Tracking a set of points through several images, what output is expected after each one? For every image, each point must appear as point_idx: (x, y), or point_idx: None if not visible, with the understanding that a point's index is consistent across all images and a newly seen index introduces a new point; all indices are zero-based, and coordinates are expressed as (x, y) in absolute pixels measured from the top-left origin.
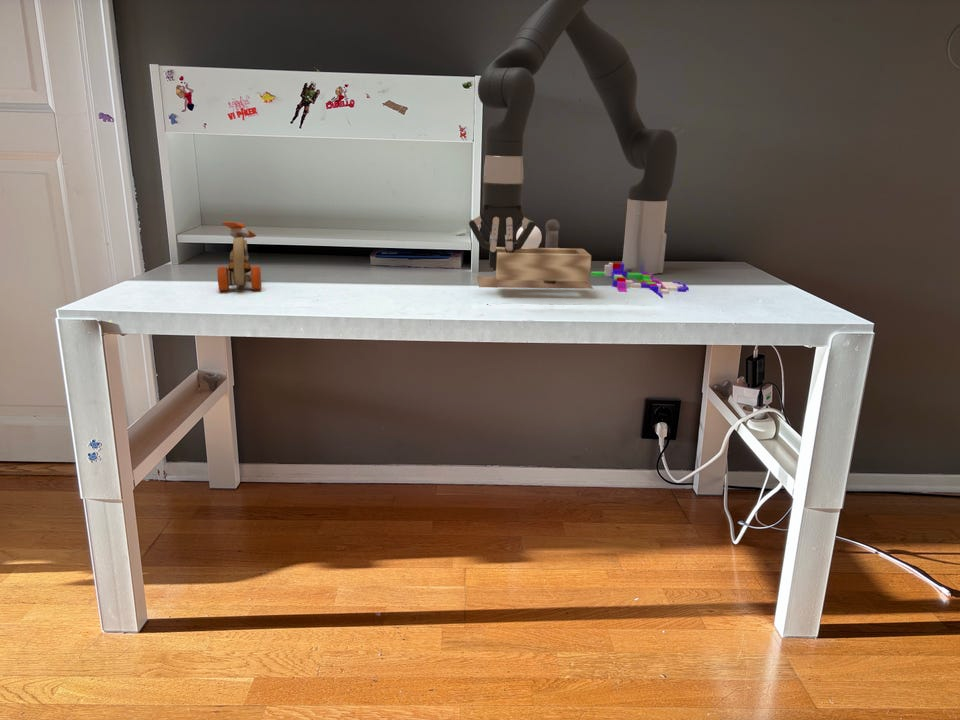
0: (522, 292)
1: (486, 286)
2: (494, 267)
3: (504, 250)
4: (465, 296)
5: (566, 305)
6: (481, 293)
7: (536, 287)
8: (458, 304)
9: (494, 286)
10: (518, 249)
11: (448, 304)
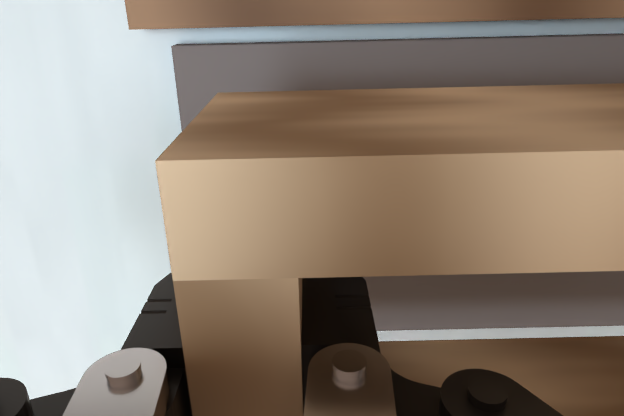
0: (448, 22)
1: (182, 5)
2: None
3: (291, 406)
4: (71, 173)
5: (618, 335)
6: (161, 78)
7: (565, 14)
8: (69, 348)
9: (244, 3)
10: (492, 266)
11: (19, 351)
